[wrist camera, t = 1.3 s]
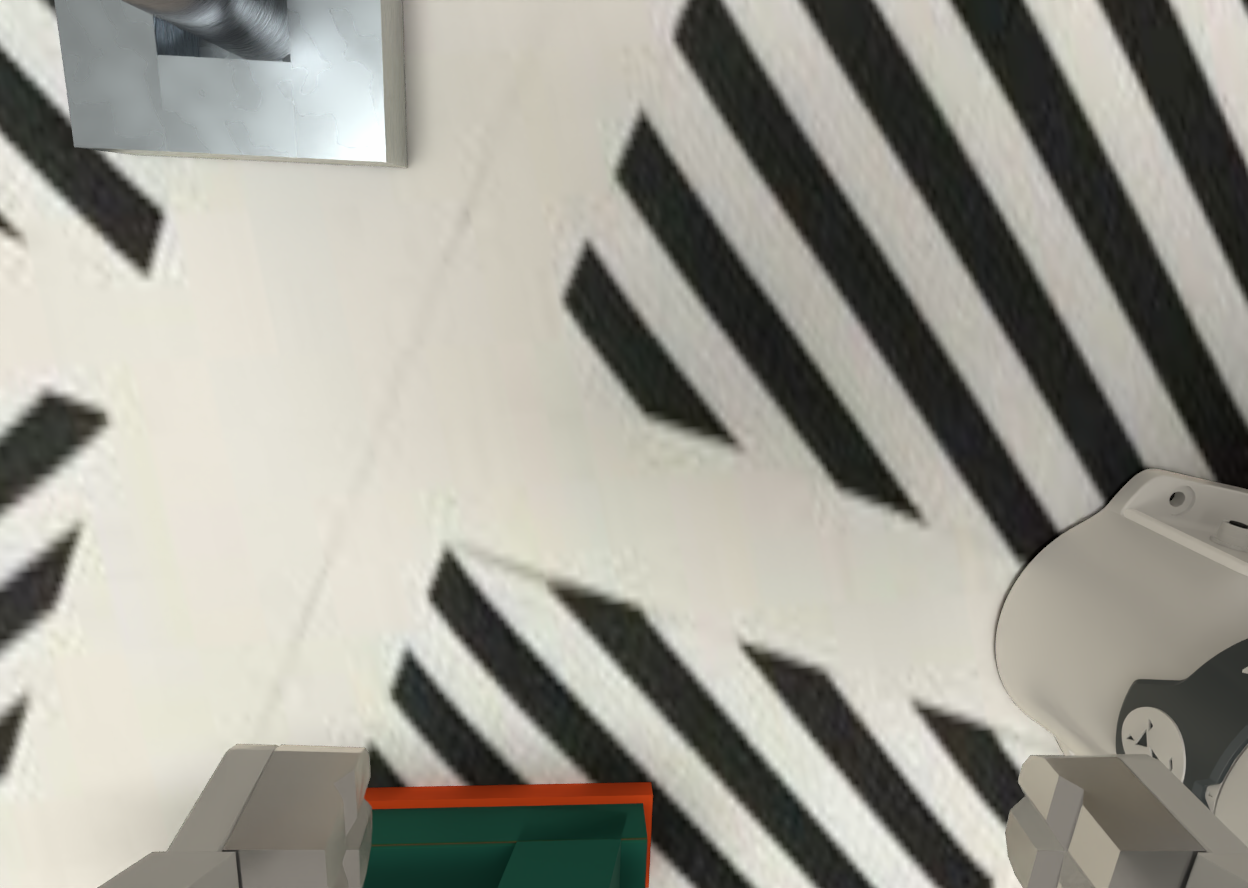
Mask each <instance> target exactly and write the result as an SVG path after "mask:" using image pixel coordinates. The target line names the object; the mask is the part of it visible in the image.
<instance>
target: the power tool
mask: <svg viewBox="0 0 1248 888" xmlns="http://www.w3.org/2000/svg"><path fill="white" fill-rule="evenodd" d="M364 799H365V800H366V801H367V802H368V803H369V804H370V805H371V806H372V841H371V850H370V856H369V862H368V868H367V873H366V877H365V880H364V884H363V888H649V867H650V846H651V825H652V804H653V792H652V785H651V782H637V783H586V784H535V785H485V786H434V787H384V788H367V789H366V792H365V795H364Z"/></svg>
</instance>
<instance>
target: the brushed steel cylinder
mask: <svg viewBox="0 0 1248 888" xmlns="http://www.w3.org/2000/svg"><path fill="white" fill-rule="evenodd" d="M121 1H124V2H126V3H128V4H130V5H132V6H134V7H136V8H138V9H140V10H142V11H145V12H147V13H149V14H151V15H153V16H155V17H157V18H159V19H161V20H163V21H166V22H168V23H170V24H172V25H174V26H176V27H178V28H180V29H182V30H185V31H187V32H189V33H191V34H193V35H195V36H197V37H199V38H201V39H203V40H206V41H208V42H210V43H212V44H214V45H216V46H218V47H220V48H222V49H224V50H227V51H229V52H231V53H233V54H235V55H237V56H239V57H241V58H244V59H246V60H259V61H278V60H280V59H282V58H284V57H286V56H287V55H289V54H290V41H289V26H288V10H287V0H121Z"/></svg>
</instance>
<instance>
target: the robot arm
mask: <svg viewBox="0 0 1248 888" xmlns="http://www.w3.org/2000/svg"><path fill="white" fill-rule="evenodd" d="M1173 493H1175V496H1174V498H1173V499H1172V500H1171V501H1169V499H1170V497H1171V495H1172V494H1173ZM995 646H996V662H997V667H998V671H999V675H1000V678H1001V681H1002V683H1003V685H1004V687H1005V690H1006V691H1007V693H1008V695H1009V696H1010V698H1011V699H1012V701H1013V702H1014V703H1015V704H1016V706H1017V707H1018V708H1019V709H1020V710H1021V711H1022V712H1023V713H1024V714H1025V715H1027V716H1028V717H1029V718H1031V719H1032V720H1034V721H1035V722H1037V723H1038V724H1039V725H1041V726H1042V727H1043V728H1045V729H1046V730H1047V731H1049V732H1050V733H1051V734H1053V735H1054V736H1055V738H1056V740H1057V742H1058V744H1059V746H1060V748H1061V750H1062V752H1063V754H1064V755H1030V756H1029V758H1028V759H1027V760H1026V761H1025V762H1024V764H1023V765H1022V768H1021V772H1020V775H1019V779H1018V783H1019V785H1020V787H1021V788H1022V790H1023V792H1024V794H1025V797H1024V798H1023V799H1022V800H1021V801H1020V802H1018V803H1017V804H1016V805H1015V806H1014V807H1013V808H1012V809H1011V810H1010V813H1009V817H1008V822H1007V827H1006V831H1005V835H1006V843H1007V852H1008V857H1009V860H1010V863H1011V865H1012V868H1013V871H1014V873H1015V875H1016V877H1017V879H1018V880H1019V882H1020V884H1021V885H1022V887H1023V888H1248V489H1244V488H1240V487H1236V486H1231V485H1227V484H1223V483H1218V482H1214V481H1209V480H1205V479H1201V478H1196V477H1192V476H1188V475H1183V474H1179V473H1174V472H1170V471H1166V470H1161V469H1147V470H1144V471H1142V472H1140V473H1138V474H1137V475H1135V476H1134V477H1133V478H1132V479H1131V480H1129V481H1128V482H1127V483H1126V484H1125V485H1124V486H1123V487H1122V489H1121V490H1120V491H1119V492H1118V493H1117V494H1116V495H1115V496H1114V497H1113V499H1112V500H1111V501H1110V502H1109V503H1108V505H1107V506H1106V507H1105V508H1104V509H1102V510H1101V511H1100V512H1098V513H1097V514H1096V515H1094V516H1092V517H1091V518H1089V519H1087V520H1086V521H1084V522H1082V523H1080V524H1078V525H1077V526H1075V527H1073V528H1071V529H1070V530H1068V531H1066V532H1065V533H1063V534H1062V535H1060V536H1059V537H1058V538H1056V539H1055V540H1054V541H1052V542H1051V543H1050V544H1049V545H1047V546H1046V547H1045V548H1044V549H1043V550H1042V551H1041V552H1040V553H1039V554H1038V555H1037V556H1036V557H1035V558H1034V559H1033V560H1032V561H1031V562H1030V563H1029V564H1028V566H1027V567H1026V568H1025V569H1024V571H1023V572H1022V573H1021V575H1020V576H1019V577H1018V579H1017V581H1016V582H1015V584H1014V585H1013V587H1012V589H1011V591H1010V593H1009V595H1008V597H1007V599H1006V601H1005V603H1004V606H1003V609H1002V612H1001V615H1000V618H999V622H998V627H997V633H996V644H995ZM370 776H371V774H370V760H369V752H368V751H367V749H366V748H365V747H337V746H308V745H280V746H278V745H258V744H236V745H235V746H233V747H232V748H230V749H229V750H228V751H227V752H226V753H225V755H224V757H223V758H222V760H221V762H220V763H219V765H218V766H217V768H216V770H215V771H214V773H213V775H212V776H211V778H210V780H209V781H208V783H207V785H206V786H205V788H204V790H203V791H202V793H201V795H200V796H199V798H198V800H197V801H196V803H195V805H194V806H193V808H192V810H191V811H190V813H189V815H188V816H187V818H186V820H185V821H184V823H183V825H182V826H181V828H180V830H179V831H178V833H177V835H176V836H175V838H174V840H173V841H172V843H171V845H170V846H169V848H168V850H167V851H166V852H151V853H150V854H148V855H147V856H145V857H144V858H142V859H141V860H139V861H138V862H136V863H135V864H133V865H131V866H130V867H128V868H127V869H125V870H124V871H122V872H121V873H119V874H118V875H116V876H115V877H113V878H112V879H110V880H109V881H107V882H106V883H104V884H103V885H101V886H99V887H98V888H363V884H364V880H365V877H366V873H367V868H368V862H369V856H370V850H371V841H372V806H371V805H370V804H369V803H368V802H367V801H366V800H365V799H364V795H365V792H366V789H367V786H368V783H369V780H370Z"/></svg>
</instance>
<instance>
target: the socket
mask: <svg viewBox="0 0 1248 888" xmlns="http://www.w3.org/2000/svg"><path fill="white" fill-rule="evenodd" d="M55 8H56V15H57V22H58V30H59V37H60V45H61V52H62V60H63V67H64V74H65V82H66V89H67V97H68V104H69V111H70V119H71V126H72V134H73V141H74V147H78V148H85V149H93V150H100V151H108V152H115V153H123V154H130V155H145V156H166V157H188V158H209V159H230V160H252V161H273V162H294V163H315V164H337V165H358V166H379V167H400V168H407V138H406V104H405V70H404V36H403V2H402V0H287V10H288V26H289V41H290V54H289V55H287V56H286V57H284V58H282V59H280V60H278V61H259V60H246V59H244V58H241V57H239V56H237V55H235V54H233V53H231V52H229V51H227V50H224V49H222V48H220V47H218V46H216V45H214V44H212V43H210V42H208V41H206V40H203V39H201V38H199V37H197V36H195V35H193V34H191V33H189V32H187V31H185V30H182V29H180V28H178V27H176V26H174V25H172V24H170V23H168V22H166V21H163V20H161V19H159V18H157V17H155V16H153V15H151V14H149V13H147V12H145V11H142V10H140V9H138V8H136V7H134V6H132V5H130V4H128V3H126V2H124V1H121V0H55Z"/></svg>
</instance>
